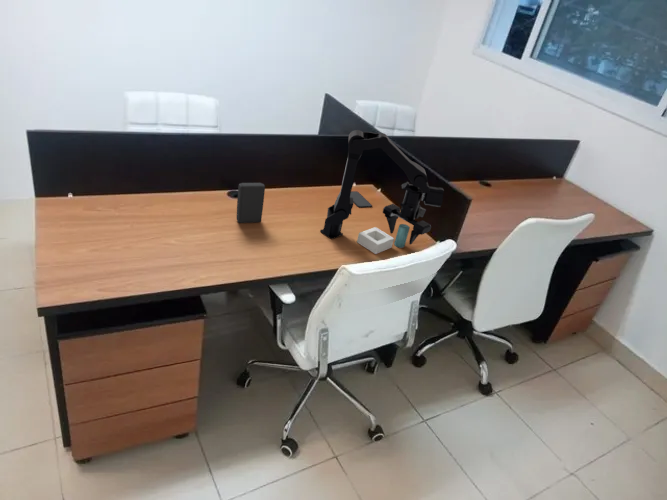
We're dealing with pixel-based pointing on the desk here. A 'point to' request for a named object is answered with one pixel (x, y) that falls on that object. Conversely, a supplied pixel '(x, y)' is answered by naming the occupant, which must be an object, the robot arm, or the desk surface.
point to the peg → (401, 235)
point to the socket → (375, 240)
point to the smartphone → (359, 200)
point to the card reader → (250, 202)
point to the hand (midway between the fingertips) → (400, 238)
